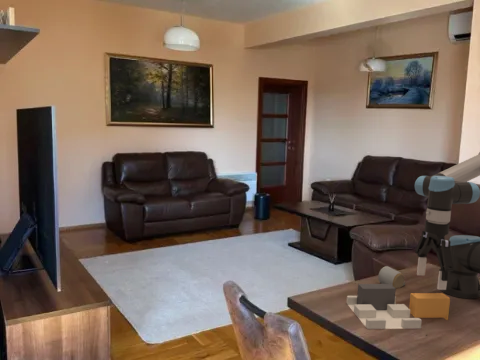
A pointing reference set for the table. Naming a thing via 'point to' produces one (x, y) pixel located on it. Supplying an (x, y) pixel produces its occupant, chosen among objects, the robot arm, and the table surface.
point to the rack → (384, 316)
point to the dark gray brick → (376, 295)
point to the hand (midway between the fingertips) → (430, 281)
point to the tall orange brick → (429, 305)
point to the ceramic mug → (391, 277)
